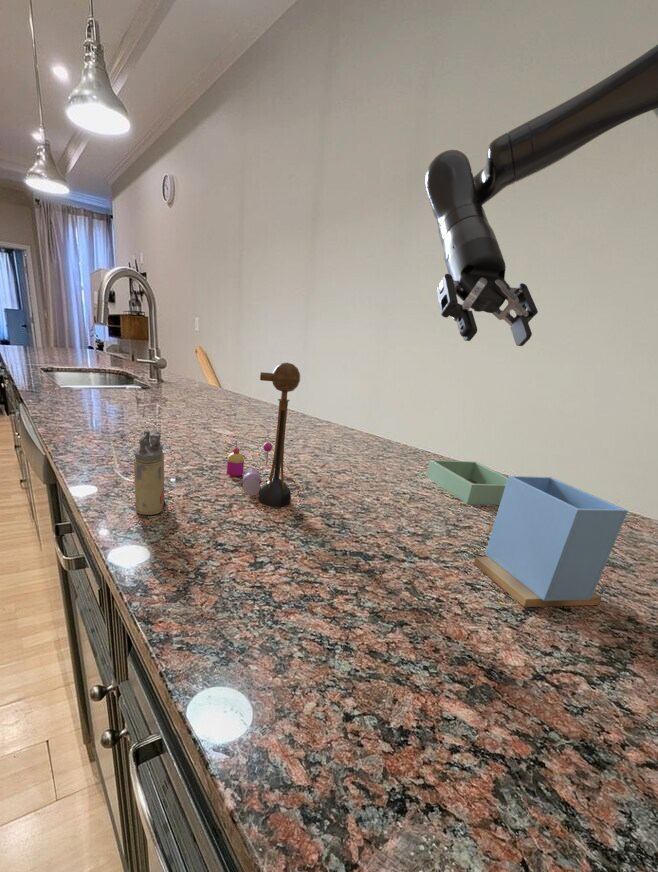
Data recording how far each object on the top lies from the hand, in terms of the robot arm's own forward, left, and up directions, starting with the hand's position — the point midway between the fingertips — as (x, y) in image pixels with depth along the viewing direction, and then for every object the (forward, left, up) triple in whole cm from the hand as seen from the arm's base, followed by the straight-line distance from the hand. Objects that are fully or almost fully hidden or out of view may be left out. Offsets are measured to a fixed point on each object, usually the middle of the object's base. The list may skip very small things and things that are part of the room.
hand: (498, 339), depth 63 cm
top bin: (+5, +24, -24) cm, 34 cm away
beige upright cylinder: (+48, +3, -25) cm, 55 cm away
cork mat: (+5, +24, -25) cm, 35 cm away
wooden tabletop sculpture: (+31, 0, -25) cm, 40 cm away
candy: (+33, -11, -25) cm, 43 cm away
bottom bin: (-3, -2, -25) cm, 26 cm away
